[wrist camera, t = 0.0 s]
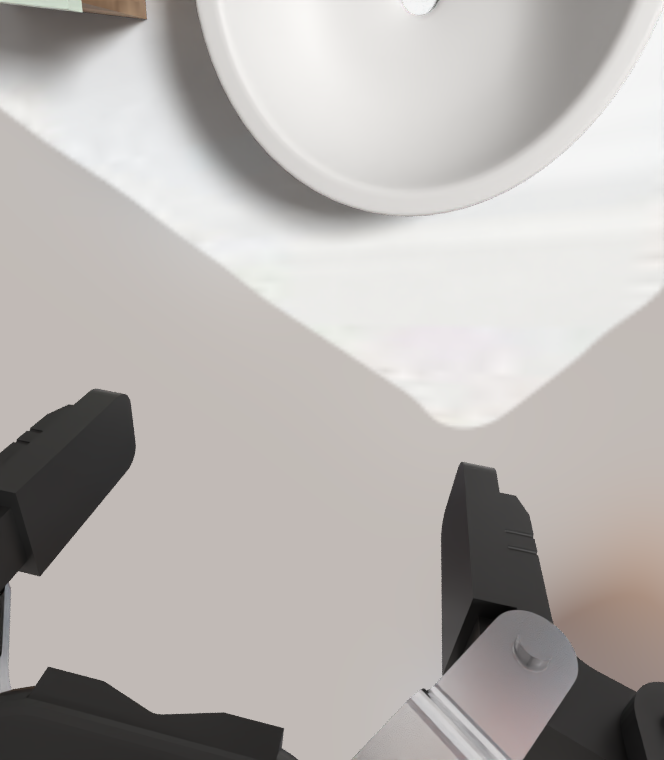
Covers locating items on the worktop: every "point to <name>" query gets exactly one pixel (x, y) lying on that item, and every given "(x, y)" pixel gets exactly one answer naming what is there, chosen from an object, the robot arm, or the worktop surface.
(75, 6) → the lid
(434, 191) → the white sink basin
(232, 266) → the worktop surface
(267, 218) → the worktop surface
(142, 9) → the walnut box
